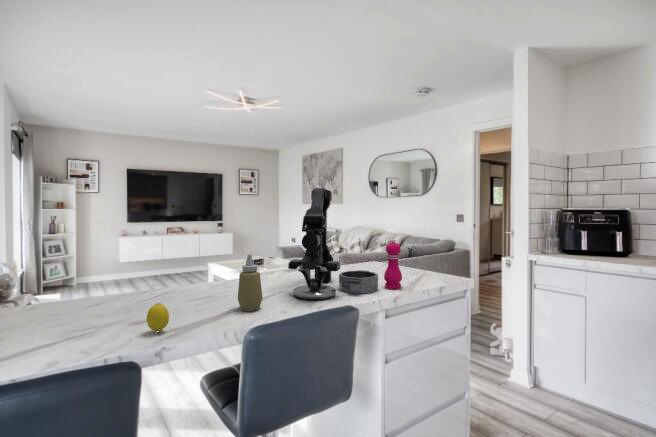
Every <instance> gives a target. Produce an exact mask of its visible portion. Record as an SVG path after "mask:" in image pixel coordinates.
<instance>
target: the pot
mask: <svg viewBox="0 0 656 437" xmlns="http://www.w3.org/2000/svg"><path fill="white" fill-rule="evenodd" d="M338 281H339V282H338V287H339V290H340V292H343V293H345V294H354V295H365V294H368V293H369V294H372V293H373V292H374V293H376V292H378V288H379V274H378V273H377V272H374V271H370V270H364V269H363V270H360V269H357V270H346V271H342V272H340V273H339V274H338Z"/></svg>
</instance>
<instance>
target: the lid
mask: <svg viewBox="0 0 656 437" xmlns="http://www.w3.org/2000/svg"><path fill="white" fill-rule="evenodd" d="M318 283H319V279H318V278H315V277H313V278H311V279H310V288H308V285H307V284H306V285H301V286H296V287H294V288H293V289H292V295H293V296H294V297H296V298H301V299H304V300H310V301H311V300H313V301H315V300H316V301H317V300H323V299H327V298H331V297H333V296H334V297H335V295H336V294H337V289H336V288H335V287H334V286H329V285H323V284H322V285H321V288H320V289H319V287H318Z"/></svg>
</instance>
